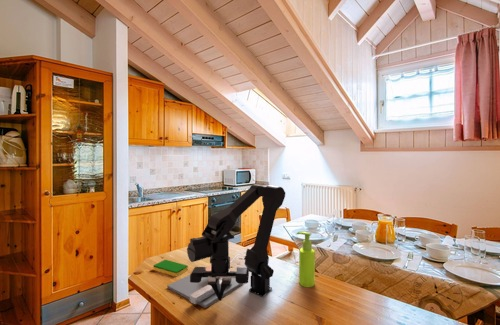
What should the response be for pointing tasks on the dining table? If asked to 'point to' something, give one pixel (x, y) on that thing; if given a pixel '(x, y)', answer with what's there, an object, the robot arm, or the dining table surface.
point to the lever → (204, 293)
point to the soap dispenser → (306, 262)
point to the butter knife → (236, 257)
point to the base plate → (188, 288)
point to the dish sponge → (170, 268)
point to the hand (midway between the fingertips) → (220, 300)
